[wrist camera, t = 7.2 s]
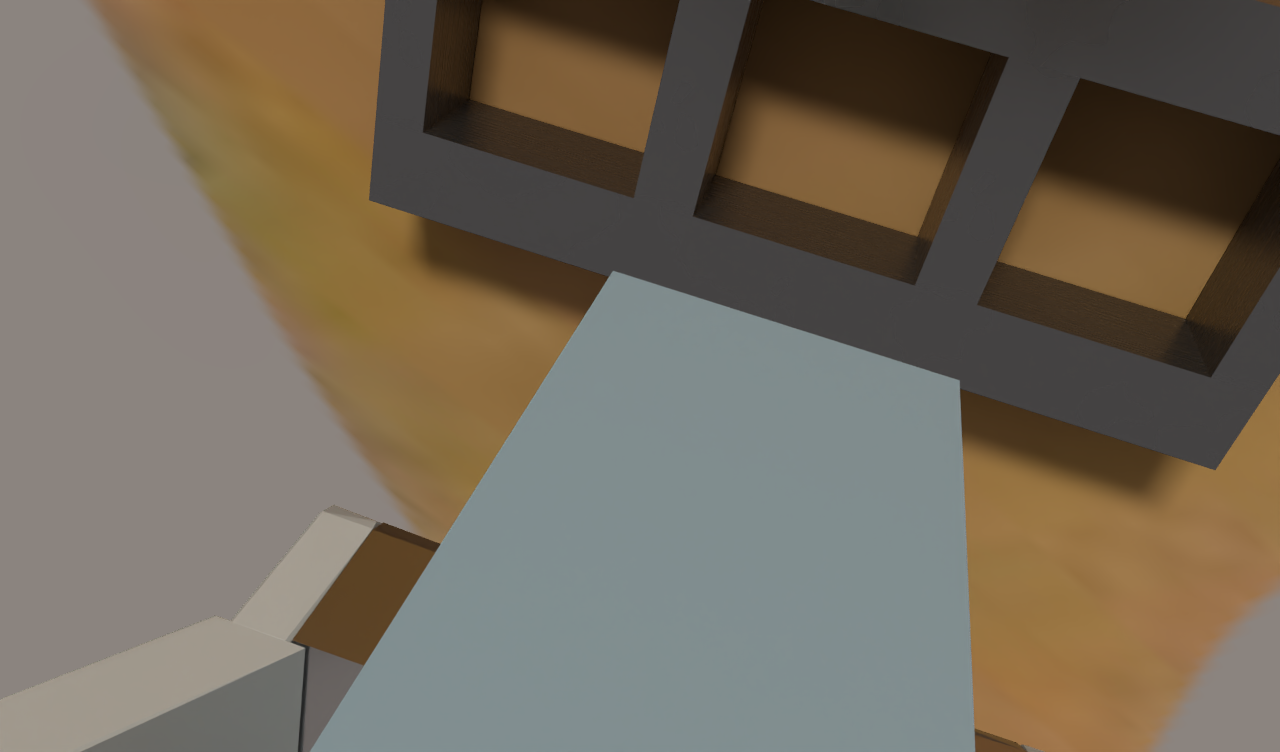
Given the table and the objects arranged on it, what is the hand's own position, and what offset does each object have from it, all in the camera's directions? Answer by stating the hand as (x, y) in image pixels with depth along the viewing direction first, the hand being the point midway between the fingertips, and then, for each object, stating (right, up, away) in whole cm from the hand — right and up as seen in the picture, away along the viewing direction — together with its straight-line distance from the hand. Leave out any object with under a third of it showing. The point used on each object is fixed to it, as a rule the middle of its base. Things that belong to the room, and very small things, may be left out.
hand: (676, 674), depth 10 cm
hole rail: (+5, +9, +16) cm, 19 cm away
